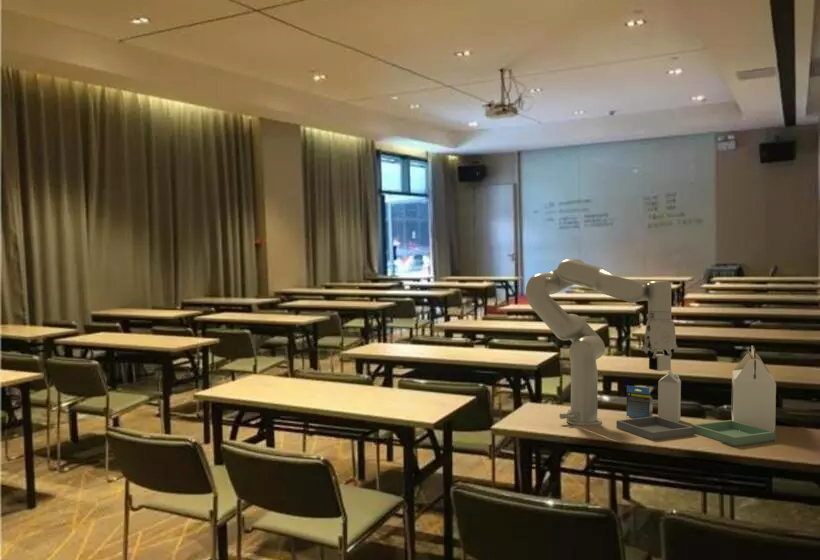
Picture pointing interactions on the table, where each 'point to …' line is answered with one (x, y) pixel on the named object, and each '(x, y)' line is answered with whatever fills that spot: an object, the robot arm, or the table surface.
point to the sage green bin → (734, 433)
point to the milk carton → (669, 397)
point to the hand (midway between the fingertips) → (659, 368)
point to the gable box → (753, 393)
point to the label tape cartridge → (639, 402)
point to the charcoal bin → (655, 427)
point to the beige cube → (663, 362)
